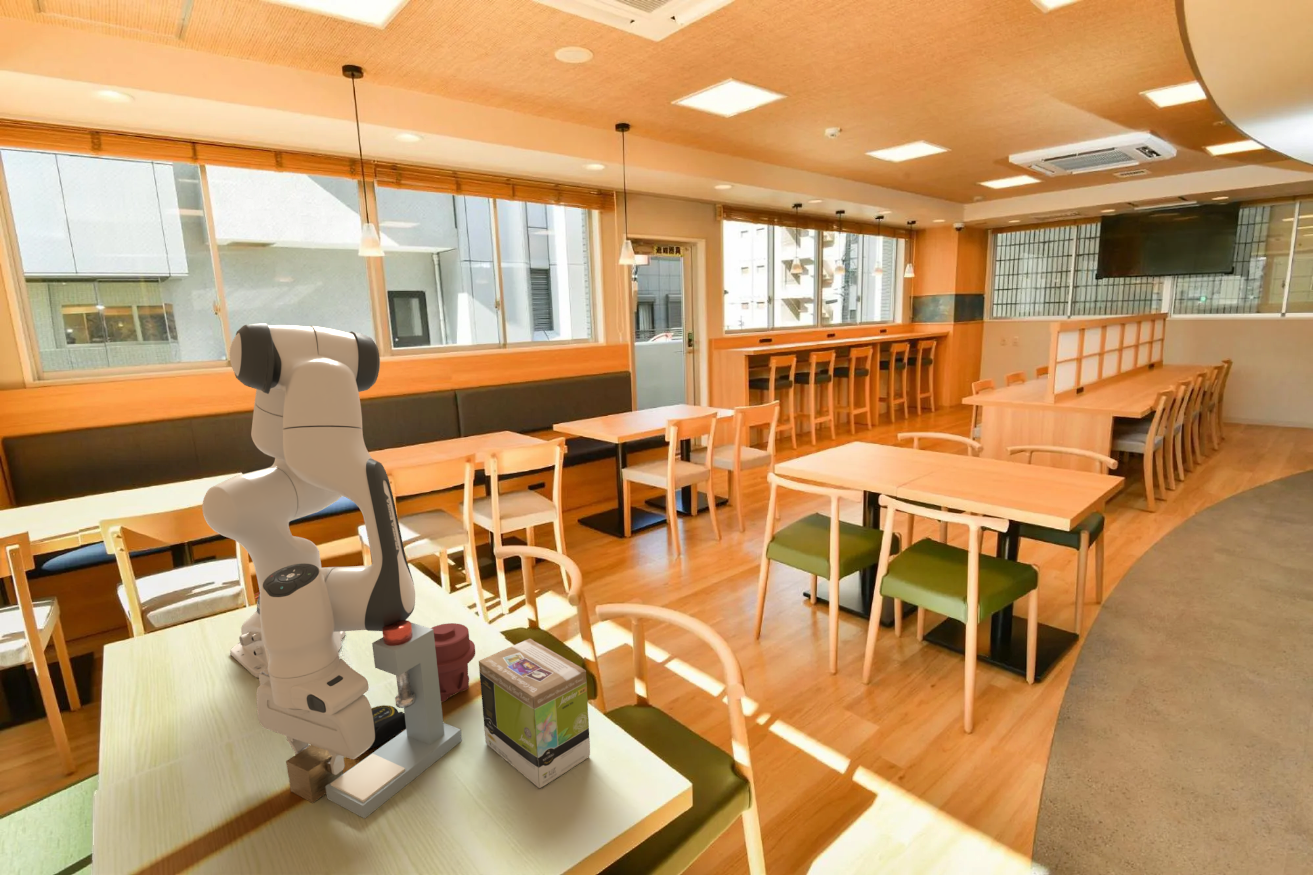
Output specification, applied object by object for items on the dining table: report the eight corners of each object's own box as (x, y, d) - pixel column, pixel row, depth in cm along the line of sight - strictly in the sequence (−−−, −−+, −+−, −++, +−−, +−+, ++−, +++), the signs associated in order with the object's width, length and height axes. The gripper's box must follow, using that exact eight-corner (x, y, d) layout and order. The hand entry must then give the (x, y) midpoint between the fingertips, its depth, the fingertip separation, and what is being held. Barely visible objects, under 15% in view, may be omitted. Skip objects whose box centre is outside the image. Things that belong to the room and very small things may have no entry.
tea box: (593, 756, 100) (588, 668, 97) (539, 791, 93) (531, 698, 90) (536, 715, 110) (530, 634, 107) (483, 744, 103) (475, 659, 100)
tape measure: (371, 756, 101) (368, 735, 100) (349, 739, 105) (346, 719, 105) (411, 733, 107) (408, 712, 106) (388, 717, 111) (385, 698, 110)
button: (385, 705, 98) (376, 629, 95) (407, 691, 101) (398, 617, 99) (404, 713, 96) (394, 635, 93) (425, 698, 99) (417, 623, 97)
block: (290, 791, 94) (285, 761, 93) (322, 769, 98) (318, 740, 97) (312, 802, 92) (308, 771, 91) (344, 779, 96) (339, 750, 95)
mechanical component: (488, 678, 121) (461, 710, 112) (439, 673, 123) (409, 705, 114) (482, 617, 119) (455, 645, 109) (432, 613, 121) (401, 640, 111)
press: (327, 798, 92) (307, 671, 88) (426, 726, 108) (414, 614, 104) (364, 818, 89) (346, 686, 85) (461, 740, 104) (450, 625, 100)
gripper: (237, 676, 94) (253, 760, 97) (338, 707, 85) (352, 799, 88) (278, 654, 99) (291, 734, 102) (376, 682, 91) (388, 768, 94)
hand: (320, 764), depth 95 cm, fingers closed on block, 5 cm apart
